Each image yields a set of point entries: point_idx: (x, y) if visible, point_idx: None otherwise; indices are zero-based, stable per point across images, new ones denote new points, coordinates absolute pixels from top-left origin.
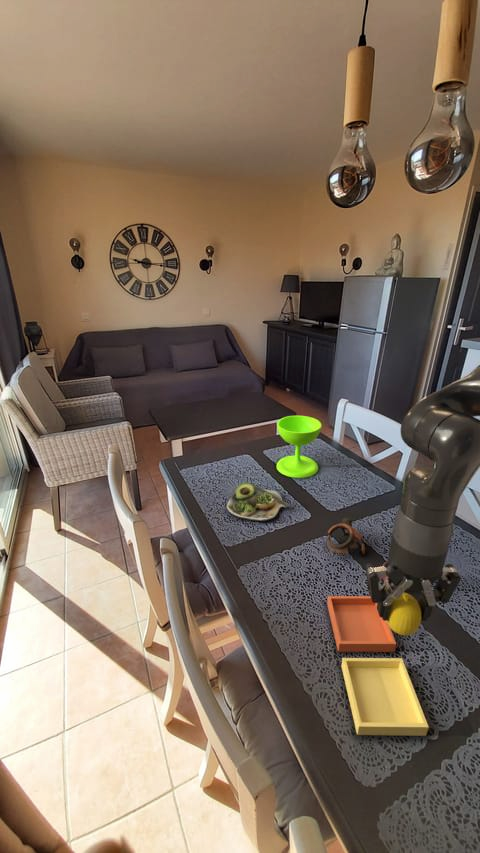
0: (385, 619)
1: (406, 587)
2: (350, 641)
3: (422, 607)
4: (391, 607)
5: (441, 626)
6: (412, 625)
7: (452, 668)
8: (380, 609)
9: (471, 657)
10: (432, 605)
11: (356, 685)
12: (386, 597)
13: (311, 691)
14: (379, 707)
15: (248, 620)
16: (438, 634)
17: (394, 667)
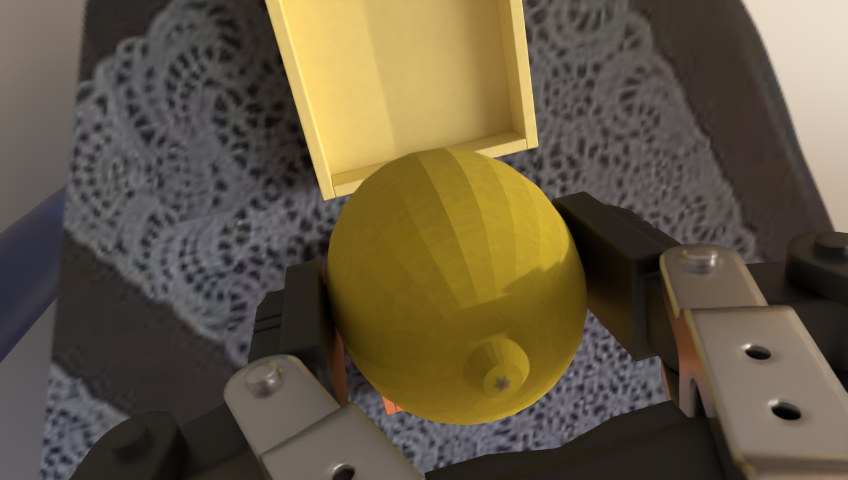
0: (577, 197)
1: (788, 465)
2: None
3: (329, 341)
4: (581, 270)
5: (160, 371)
6: (412, 180)
7: (135, 226)
8: (663, 232)
9: (61, 285)
10: (263, 362)
11: (482, 75)
12: (760, 299)
13: (626, 23)
14: (411, 14)
15: (799, 215)
16: (174, 339)
17: (345, 172)
